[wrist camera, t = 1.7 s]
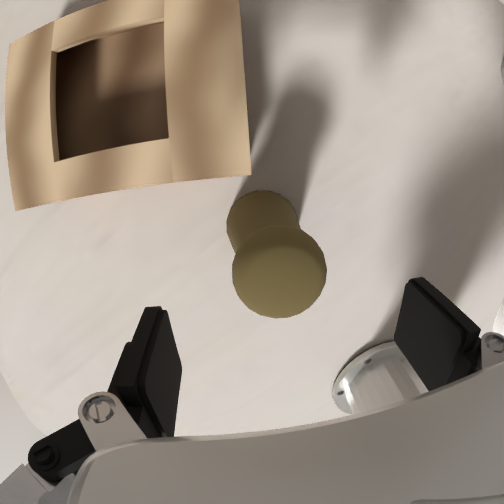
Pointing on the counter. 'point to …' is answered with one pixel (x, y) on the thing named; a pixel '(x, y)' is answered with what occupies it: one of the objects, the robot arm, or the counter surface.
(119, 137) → the drop box
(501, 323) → the honey pot
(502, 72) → the lumpy-topped squat cylinder
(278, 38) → the counter surface
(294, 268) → the cork
